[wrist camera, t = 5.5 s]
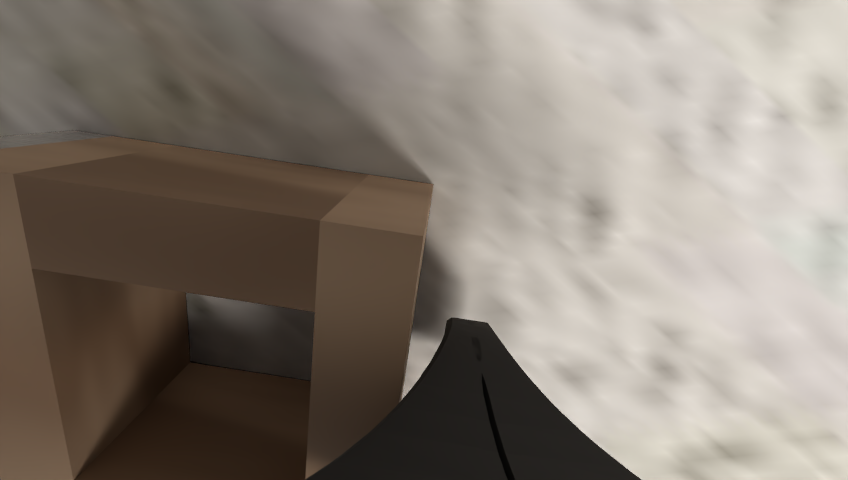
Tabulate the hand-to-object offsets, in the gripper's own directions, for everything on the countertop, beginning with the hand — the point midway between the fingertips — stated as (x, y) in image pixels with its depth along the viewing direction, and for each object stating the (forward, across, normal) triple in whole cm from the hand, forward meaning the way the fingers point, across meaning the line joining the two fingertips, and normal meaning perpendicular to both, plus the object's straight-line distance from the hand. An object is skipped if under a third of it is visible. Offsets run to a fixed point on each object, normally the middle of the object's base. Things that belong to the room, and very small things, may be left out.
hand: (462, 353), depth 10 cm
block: (+1, +5, 0) cm, 5 cm away
